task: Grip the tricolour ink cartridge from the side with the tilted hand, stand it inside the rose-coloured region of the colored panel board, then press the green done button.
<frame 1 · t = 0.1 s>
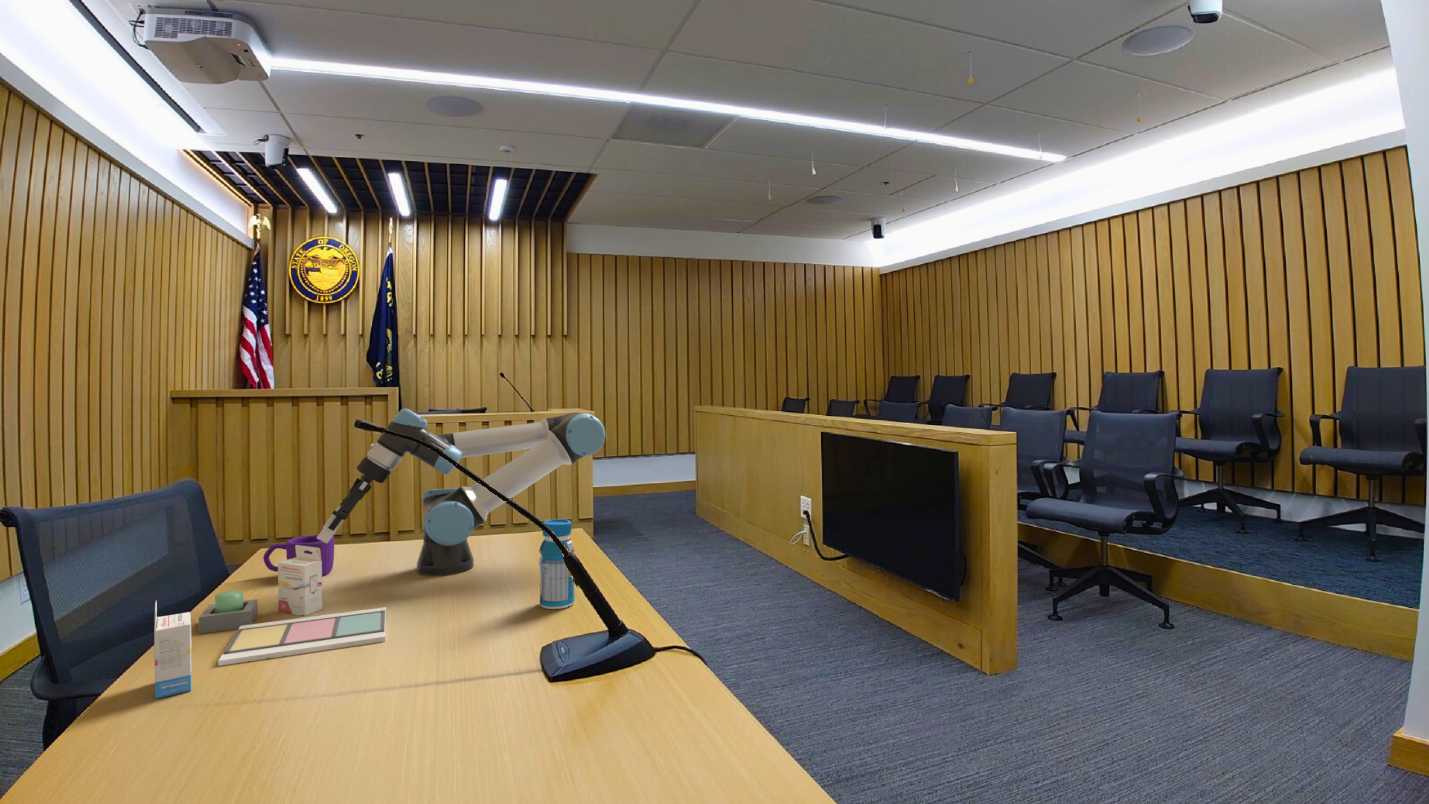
hand: (324, 535, 166), 15 cm above the table, tool tilted 35°, fingers open, 13 cm apart
ink cartridge box: (300, 611, 155), on the table
button housing: (229, 623, 147), on the table
done button: (229, 604, 147), point 4 cm above the table, slide at 0.0 cm
ink box: (173, 688, 116), on the table
beverage bottle: (557, 605, 160), on the table
colored panel board: (311, 635, 140), on the table
mug: (299, 576, 184), on the table
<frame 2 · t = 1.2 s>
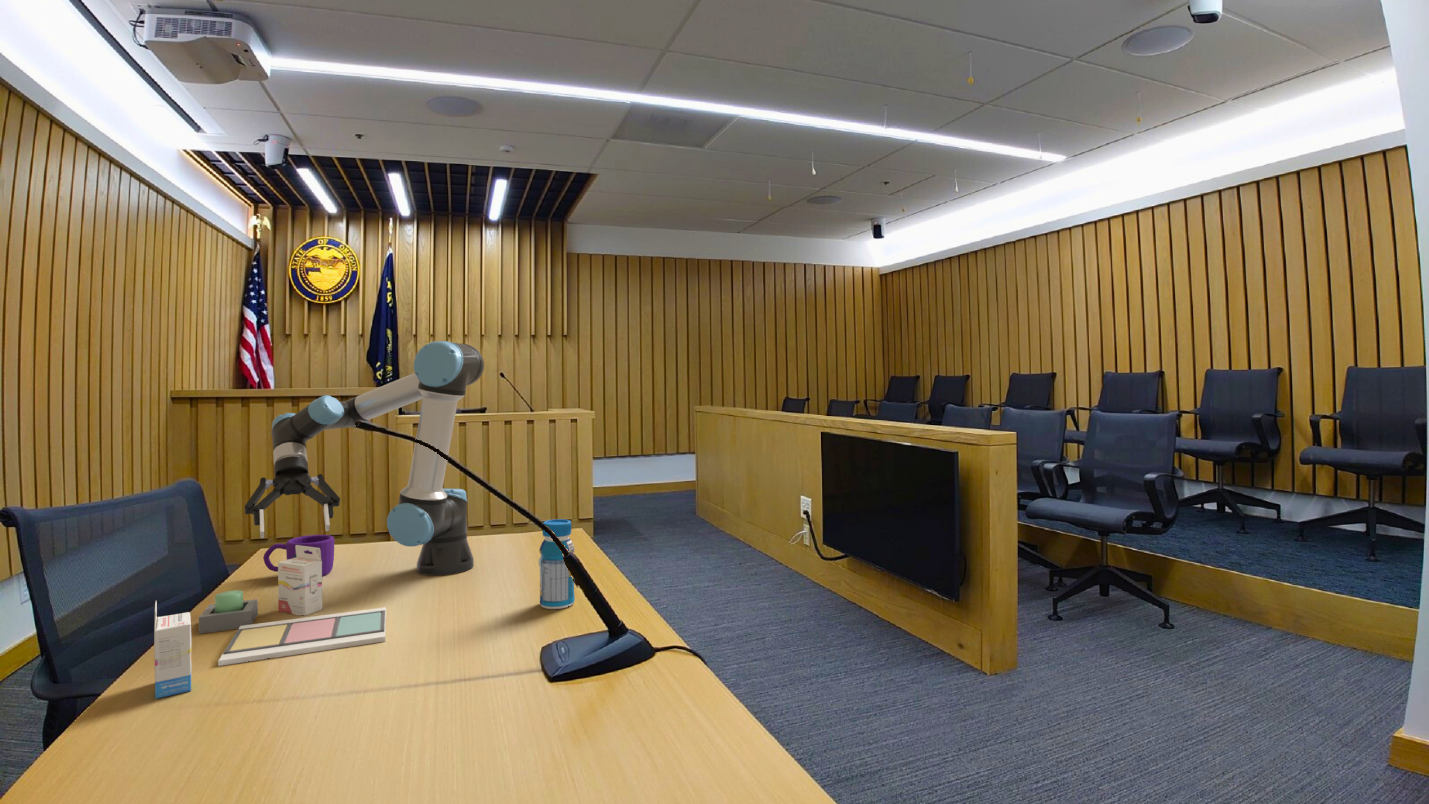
hand: (295, 531, 163), 17 cm above the table, tool tilted 45°, fingers open, 13 cm apart
nothing on the table moved.
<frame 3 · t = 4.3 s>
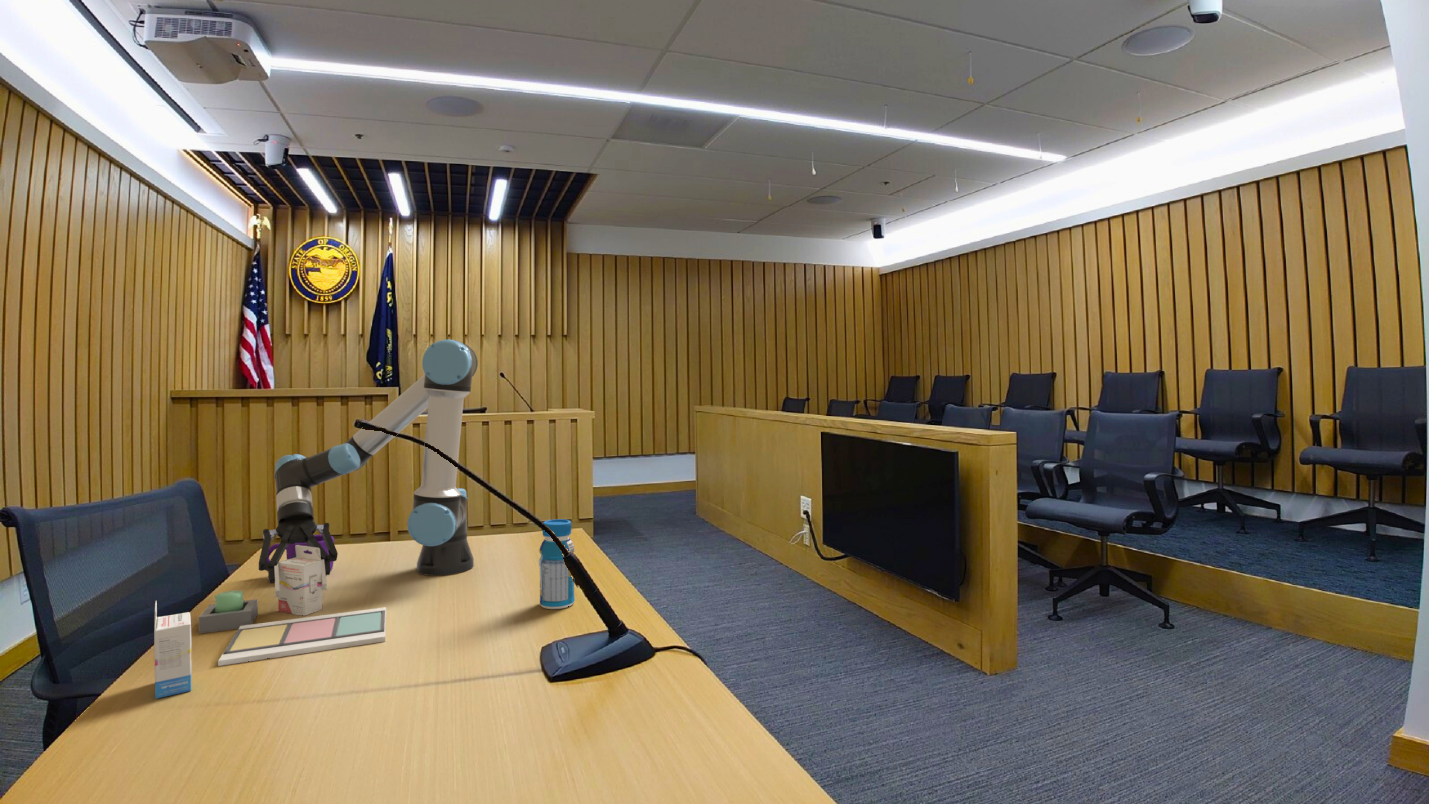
hand: (301, 590, 152), 6 cm above the table, tool tilted 45°, fingers closed on ink cartridge box, 8 cm apart
ink cartridge box: (300, 611, 155), on the table, touching gripper
everything else where it was.
when the fingers open (8 cm above the table, at t = 9.1 s): ink cartridge box drops 1 cm, resting on colored panel board.
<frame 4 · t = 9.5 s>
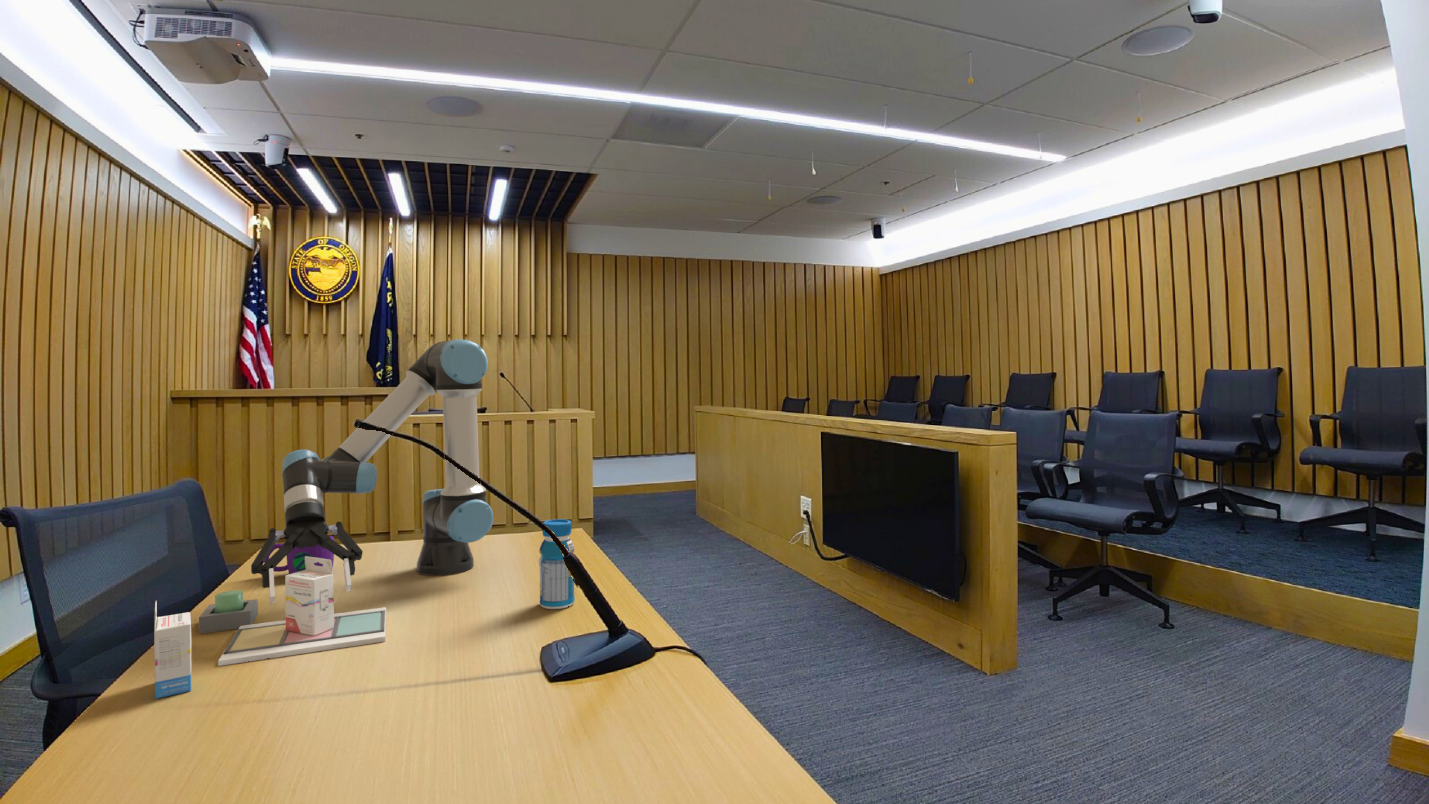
hand: (311, 594, 138), 9 cm above the table, tool tilted 45°, fingers open, 13 cm apart
ink cartridge box: (309, 630, 140), point 1 cm above the table, touching colored panel board
everything else where it was.
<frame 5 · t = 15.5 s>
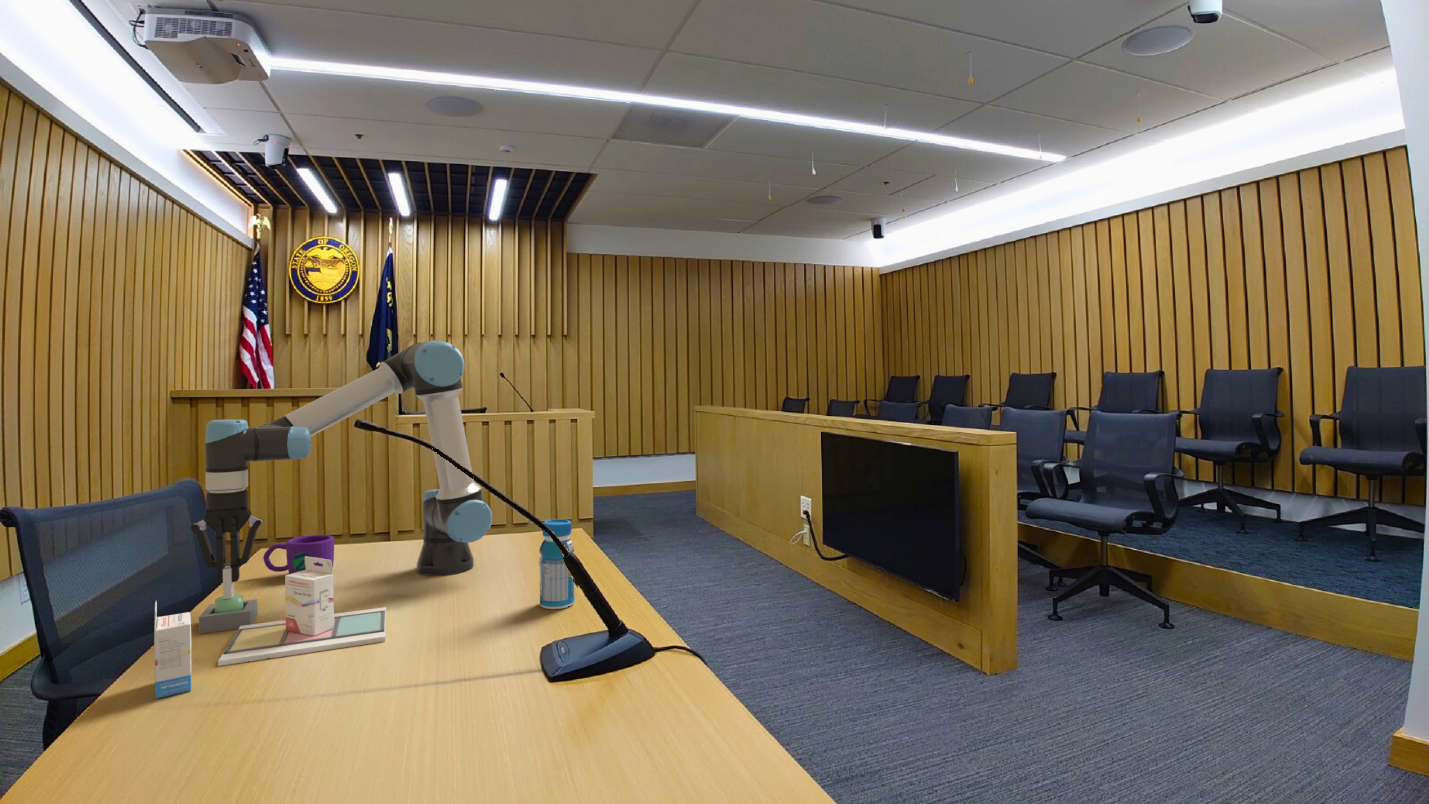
hand: (228, 596, 147), 6 cm above the table, tool pointing down, fingers closed
done button: (229, 608, 147), point 3 cm above the table, slide at 0.9 cm, touching gripper
everything else where it was.
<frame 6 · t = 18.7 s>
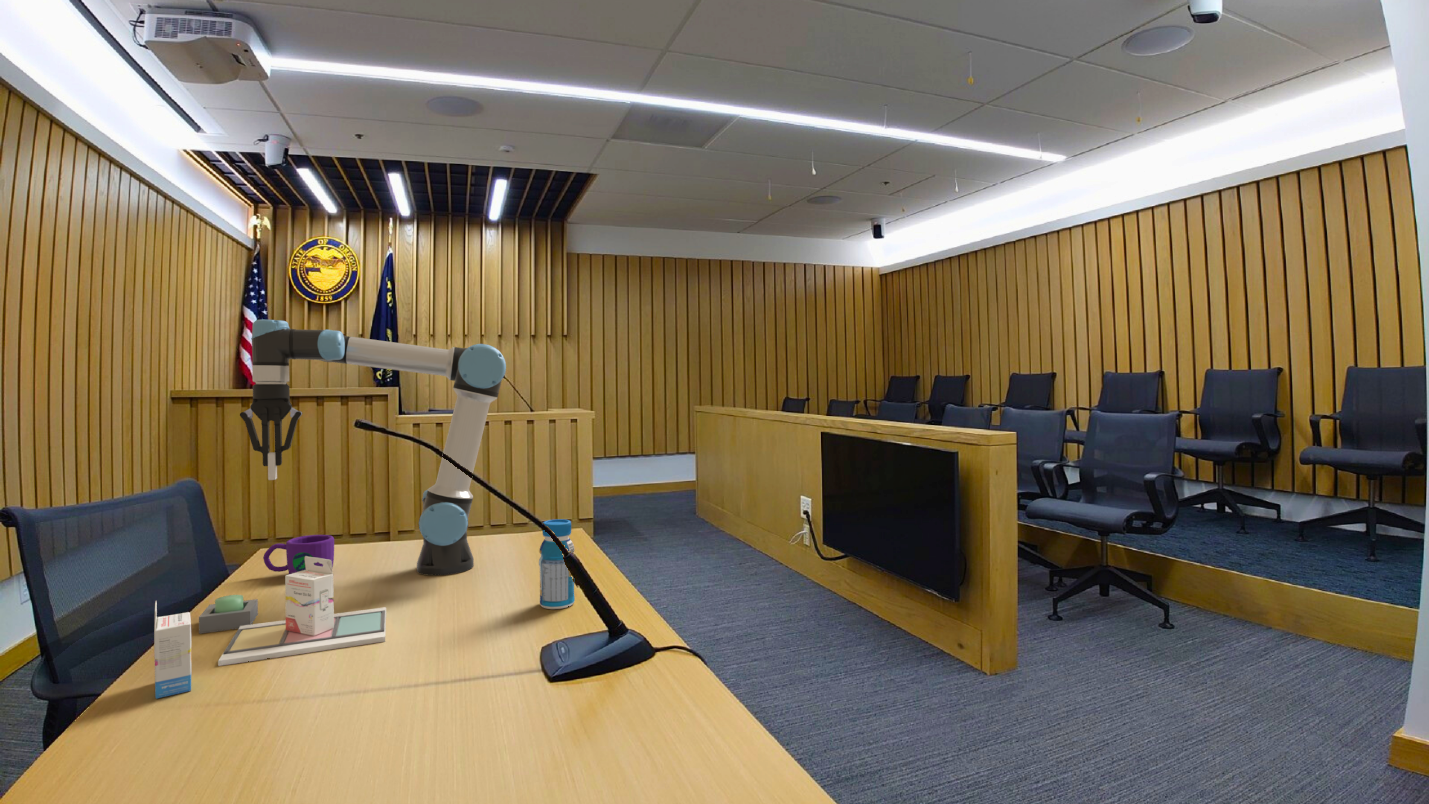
hand: (272, 479, 164), 29 cm above the table, tool pointing down, fingers closed
done button: (229, 609, 147), point 3 cm above the table, slide at 1.0 cm
everything else where it was.
at the end: ink cartridge box inside the target area (0.3 cm from its centre), point 1.1 cm above the table; ink cartridge box tilted 0°; done button slide at 1.0 cm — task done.
